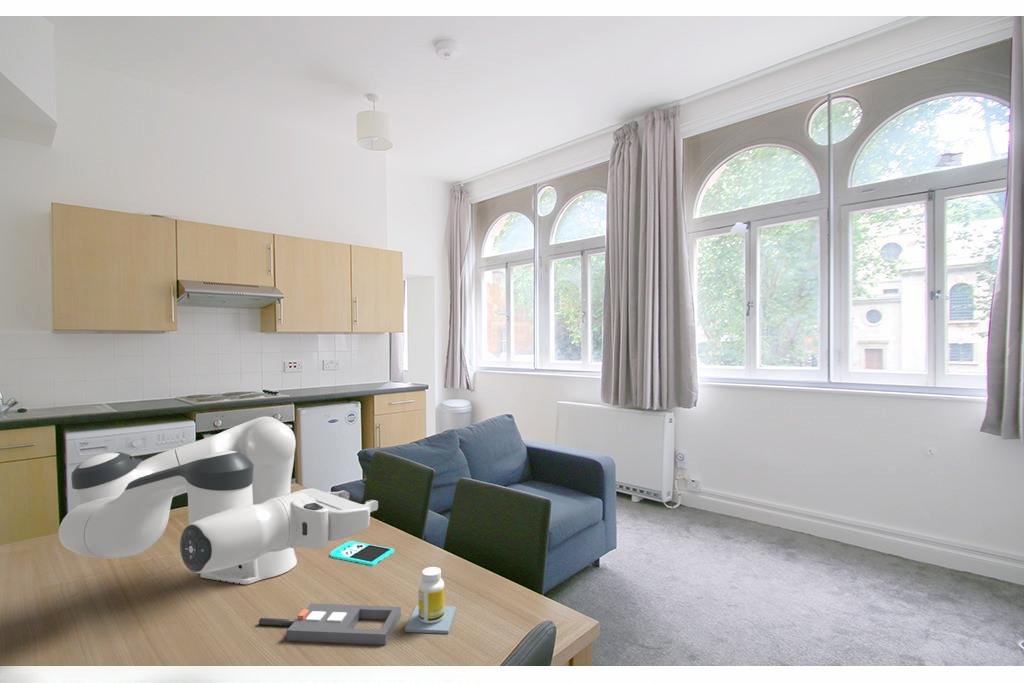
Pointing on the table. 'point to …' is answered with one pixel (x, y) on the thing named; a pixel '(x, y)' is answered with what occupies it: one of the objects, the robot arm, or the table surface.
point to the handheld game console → (361, 553)
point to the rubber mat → (437, 627)
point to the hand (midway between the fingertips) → (361, 499)
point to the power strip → (339, 623)
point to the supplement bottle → (431, 596)
